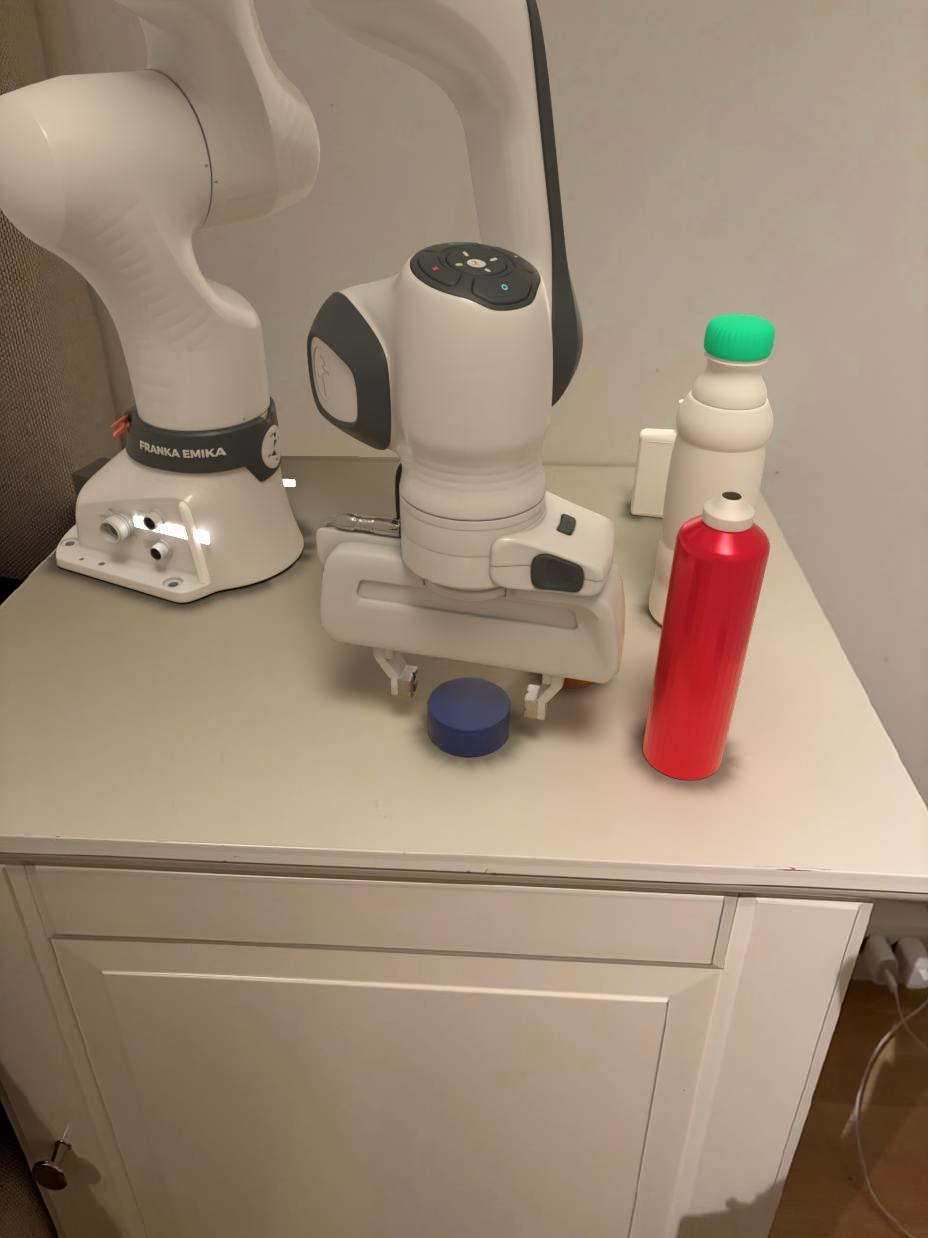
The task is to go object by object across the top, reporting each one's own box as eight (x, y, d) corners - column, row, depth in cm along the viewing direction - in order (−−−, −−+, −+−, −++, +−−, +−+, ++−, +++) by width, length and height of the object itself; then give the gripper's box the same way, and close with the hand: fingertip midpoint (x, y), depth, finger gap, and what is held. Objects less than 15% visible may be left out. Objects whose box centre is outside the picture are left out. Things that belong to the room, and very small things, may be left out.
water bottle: (733, 644, 76) (799, 339, 62) (645, 633, 77) (691, 331, 63) (730, 598, 81) (790, 309, 67) (649, 588, 83) (691, 302, 68)
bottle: (737, 769, 64) (800, 509, 52) (668, 788, 62) (717, 524, 51) (694, 720, 68) (744, 469, 57) (628, 737, 66) (666, 482, 55)
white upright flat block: (629, 515, 94) (643, 401, 87) (630, 506, 95) (644, 394, 89) (710, 523, 93) (731, 408, 86) (710, 514, 94) (730, 400, 87)
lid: (457, 693, 70) (457, 667, 69) (524, 721, 68) (526, 694, 66) (412, 737, 66) (411, 710, 65) (481, 768, 63) (482, 741, 62)
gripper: (294, 532, 57) (313, 706, 65) (630, 577, 53) (607, 757, 61) (331, 487, 62) (344, 654, 70) (640, 525, 58) (617, 697, 66)
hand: (469, 702), depth 65 cm, fingers open, 8 cm apart
